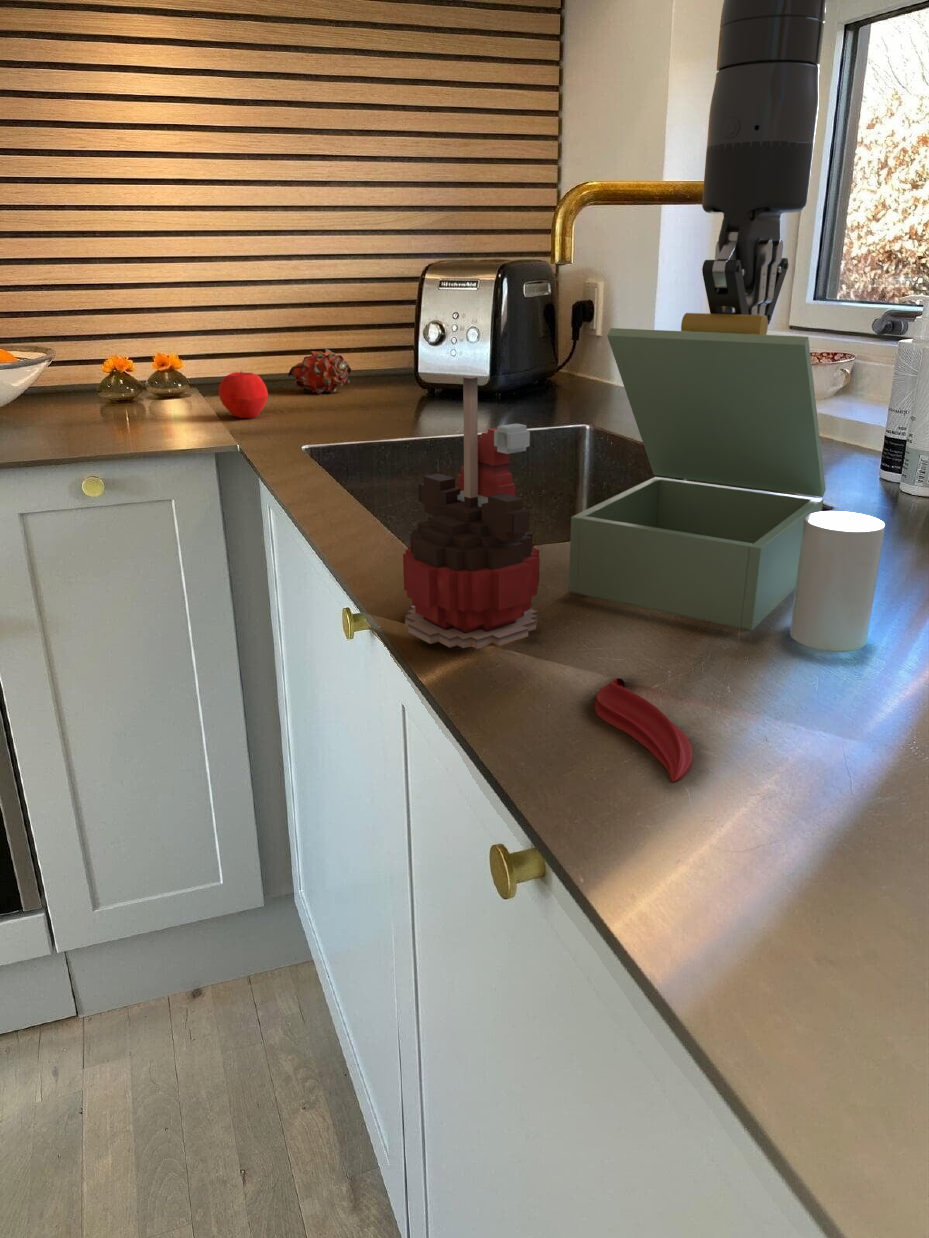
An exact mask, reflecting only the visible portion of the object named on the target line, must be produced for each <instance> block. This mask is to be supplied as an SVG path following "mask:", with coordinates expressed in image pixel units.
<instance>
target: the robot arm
mask: <svg viewBox="0 0 929 1238" xmlns="http://www.w3.org/2000/svg"><path fill="white" fill-rule="evenodd" d="M827 1H828V0H723V2H722V8H721V14H720V15H721V16H720V24H719V35H718V47H717V59H716V60H717V62H716V74H715V81H714V86H713V91H712V96H711V102H710V107H709V116H708V127H707V128H708V129H707V139H706V151H705V152H706V153H705V164H704V177H703V188H702V189H703V190H702V203H701V207H702V210H703V211H704V212H705V213H708V214H717V215H718V214H721V215H723V216H722V217H723V219H722V221H721V227H720V231H719V234H718V241H717V242H716V243H715V244H716V245H715V255H714V259H705V260H704V261H703V263H702V268H701V272H702V279H703V283H704V289H705V293H706V298H707V304H708V309H709V313H711V314H741V315H765V316H767V319H768V326H769V325H770V323H771V321H772V317H773V314H774V311H775V308H776V305H777V303H778V299H779V296H780V293H781V290H782V287H783V284H784V281H785V279H786V274H787V271H788V269H789V267H790V265H789V259H788V257H783V251H784V241H783V240H782V239H781V215H782V214H784V213H785V214H786V213H789V214H790V213H799V212H802V211H803V210H804V209H805V208H806V207H807V204H808V199H809V191H810V182H811V173H812V166H813V165H812V164H813V156H814V149H815V138H816V130H817V122H818V114H819V104H820V103H819V101H820V89H819V88H820V87H819V83H820V82H819V77H820V64H821V56H822V47H823V37H824V29H825V21H826V13H827V12H826V10H827Z"/></svg>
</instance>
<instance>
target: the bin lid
mask: <svg viewBox="0 0 929 1238" xmlns="http://www.w3.org/2000/svg"><path fill="white" fill-rule="evenodd" d="M768 327H769V325H768V319H767V316H765V315H741V314H711V313H710V312H707V313H706V312H704V313H703V312H686V313H684V315H683V317H682V319H681V324H680V330H666V329H665V330H663V329H644V328H643V329H640V328H639V329H638V328H621V327H619V328H618V327H610V329H609V331H608V332H607V335H606V337H607V340H608V343H609V346H610V349H611V351H612V354H613V358H614V360H615V364H616V367H617V370H618V372H619V376H620V378H621V381H622V384H623V387H624V391H625V393H626V396H627V400H628V403H629V406H630V408H631V411H632V414H633V418H634V420H635V423H636V426H637V429H638V432H639V435H640V438H641V441H642V444H643V447H644V451H645V452H646V455H647V460H648V463H649V465H650V468H651V471H652V474H653V475H654V476H658V477H660V476H661V477H666V478H673V479H681V480H682V479H684V480H689V481H696V482H698V481H699V482H704V483H712V484H719V485H721V484H722V485H727V486H736V487H742V488H750V489H751V488H752V489H757V490H766V491H774V492H780V493H781V492H782V493H788V494H797V495H803V496H804V495H805V496H812V497H819V498H823V497H824V495H825V492H826V482H825V481H826V480H825V472H824V462H823V455H822V446H821V444H822V443H821V438H820V429H819V419H818V409H817V402H816V392H815V384H814V374H813V365H812V358H811V350H810V340H809V336H800V335H777V334H768V330H769V329H768Z"/></svg>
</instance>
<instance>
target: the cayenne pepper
mask: <svg viewBox="0 0 929 1238" xmlns="http://www.w3.org/2000/svg"><path fill="white" fill-rule="evenodd" d="M625 684H626V681H624V680H623V679H622V678H619V677H616V678H614V679H612V680H611V681H610V682H609V683H608V684H606V685H604V686H603V687H600V689H599V690H598V691H597V693H596V694H595V695H596V696H595V697H596V701H595V703H594V710H595V713H596V715H597V716H598V717H599V718H600V719H602V720H603V721H604V722H606V723H607V724H609V725H610V726H613V727H614V728H616V729H619V730H620V731H622V732H624V733H626V734H627V735H629V736H631V737H632V738H633V739H634V740H636V741H637V742H639V744H641V746H643V747H644V748H646V749H647V750H648V751H649V752H650V753H651V754H652V755H653V756H654V757H655V758H656V759H657V760H658V761H659V762H660V763H661V764H662V766H663V767H664V768H665V769H666V770H667V772H668V775H669V779H670V781H671V782H672V783H674V782H677V781H679V780H681V779H683V778H684V777H686V775H687V774H688V772H689V771H690V770H691V768H692V764H693V749H692V745H691V742H690V740H689V738H688V737H687V735H686V734H685V733H684V732H683V731H682V730H681V729H680V728H679V727H678V726H677V725H676V724H675V723H674V722H672V721H671V720H670V719H669V718H668V716H666V714H665V713H664V712H662V710H660V709H659V708H658V707H657V706H655V705H654V704H653V703H651V702H650V701H649V700H647V699H646V698H644V697H642V696H641V695H639V694H637V693H636V692H633V691H631V690H630V689H628V688H627V687H625Z"/></svg>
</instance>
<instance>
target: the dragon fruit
mask: <svg viewBox="0 0 929 1238" xmlns="http://www.w3.org/2000/svg"><path fill="white" fill-rule="evenodd" d="M324 351H325V352H323V351H321V350H319V351H317V350H315V351H313V350H311V351H310V352H309V353H310V355H307V356H305V357H303V360H302V361H301V362H298V363H297V364H295V365H293V366H292V367H291V368H290V370H289V371H288V374H287V377H288V378H290V377H293V378H295V379H296V380H295V381H294V384H295V386H296V387H298V388H299V389H302V391H305V392H309V393H317V394H318V395H321V394H322V393H323V392H324V391H327V392H328V393H331V394H335V393H336V392H337V391H338V389H337V387H338V385H339V386H341V387H345V386H348V384H350V383H351V381H350V379H349V378H348V377H349V375H350V374H351V372H352V369H351V367H350V366H349V363H348V362H347V361H346V360H345V359H344V357H343V356H342V355H340V354H336V353H335V352H333V351H331V350H330V349H324Z"/></svg>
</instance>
